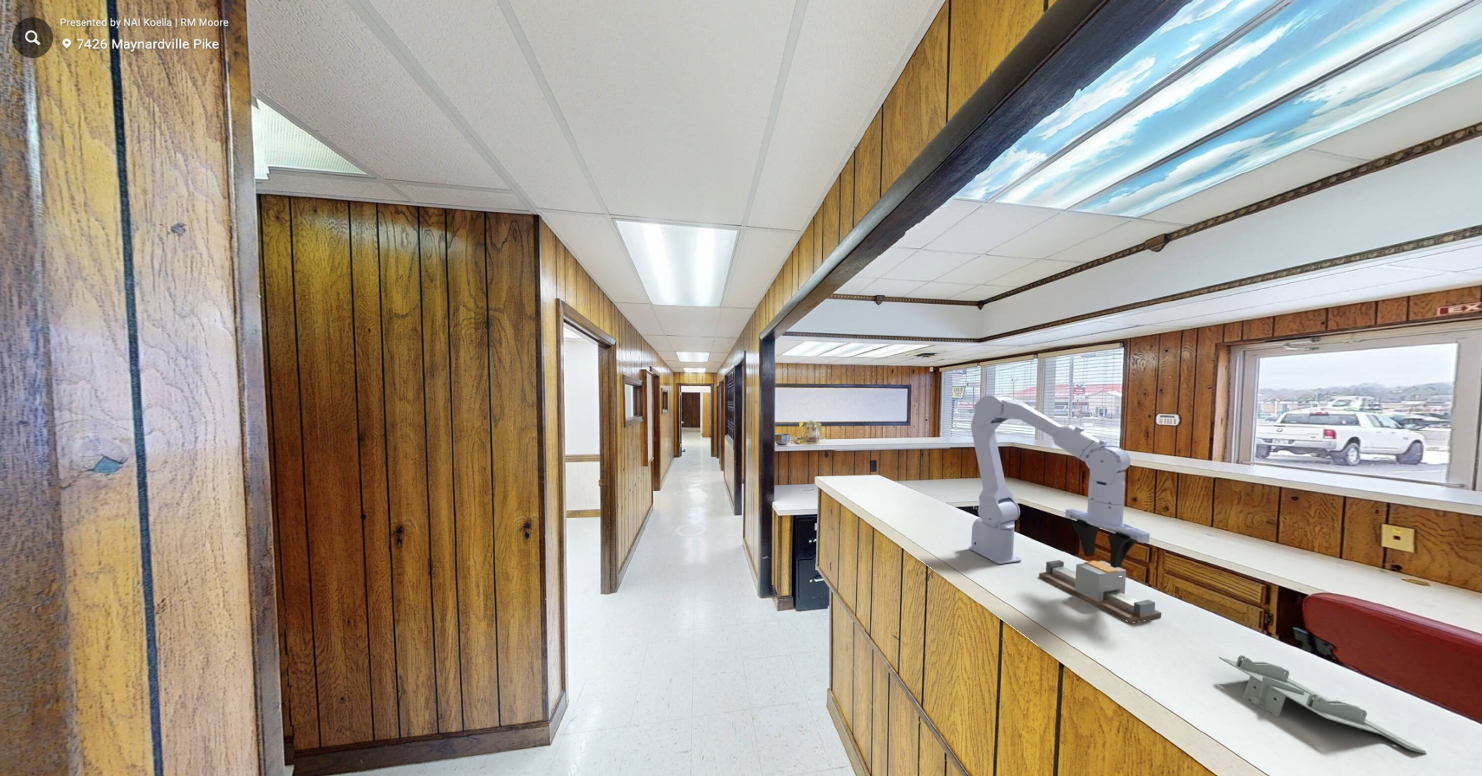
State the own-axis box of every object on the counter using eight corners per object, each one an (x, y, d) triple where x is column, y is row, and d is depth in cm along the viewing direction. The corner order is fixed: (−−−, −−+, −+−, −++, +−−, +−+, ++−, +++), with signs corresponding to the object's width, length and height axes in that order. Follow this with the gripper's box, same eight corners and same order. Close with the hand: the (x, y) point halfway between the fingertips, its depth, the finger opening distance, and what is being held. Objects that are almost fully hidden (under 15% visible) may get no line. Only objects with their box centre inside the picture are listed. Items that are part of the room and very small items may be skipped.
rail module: (1074, 590, 86) (1076, 563, 85) (1101, 586, 88) (1102, 559, 88) (1097, 601, 81) (1099, 573, 81) (1124, 596, 83) (1126, 568, 83)
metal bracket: (1348, 716, 49) (1201, 636, 64) (1334, 758, 49) (1190, 668, 64) (1439, 742, 50) (1273, 658, 65) (1424, 783, 50) (1262, 689, 65)
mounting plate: (1039, 577, 93) (1039, 573, 93) (1065, 573, 95) (1066, 569, 95) (1130, 623, 76) (1131, 618, 76) (1161, 617, 78) (1161, 612, 78)
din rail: (1045, 571, 94) (1046, 561, 94) (1059, 569, 95) (1059, 560, 95) (1139, 617, 76) (1140, 605, 76) (1154, 614, 77) (1155, 602, 77)
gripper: (1057, 491, 90) (1054, 548, 90) (1134, 513, 76) (1130, 580, 76) (1078, 490, 92) (1075, 545, 92) (1158, 511, 78) (1154, 576, 78)
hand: (1102, 561), depth 84 cm, fingers open, 4 cm apart
